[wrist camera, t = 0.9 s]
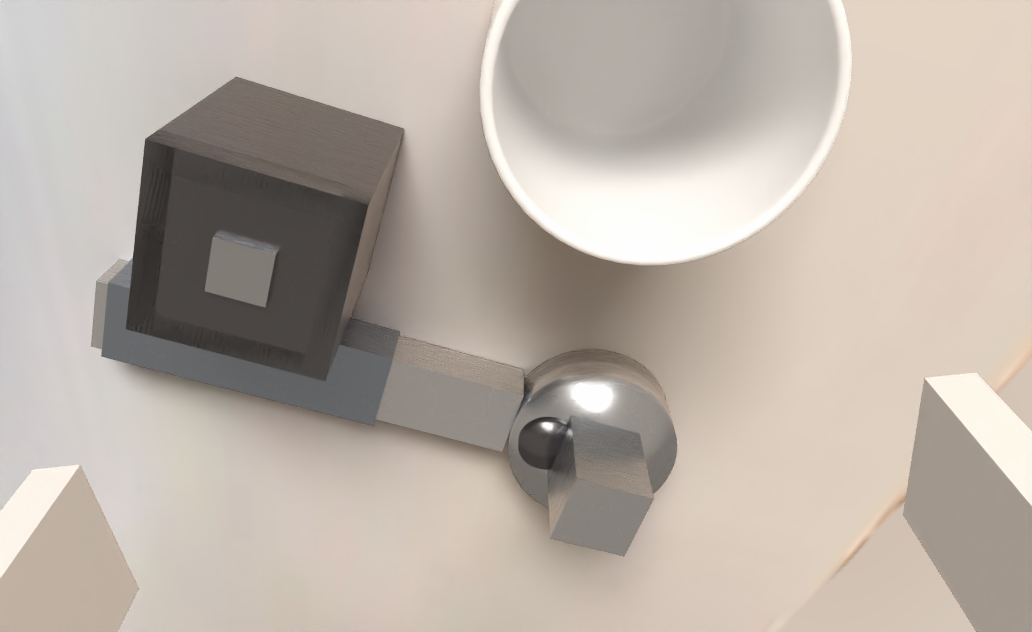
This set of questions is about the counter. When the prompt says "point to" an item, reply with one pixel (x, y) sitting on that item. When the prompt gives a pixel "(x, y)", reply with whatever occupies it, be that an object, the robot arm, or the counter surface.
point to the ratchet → (463, 409)
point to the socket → (259, 226)
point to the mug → (661, 117)
